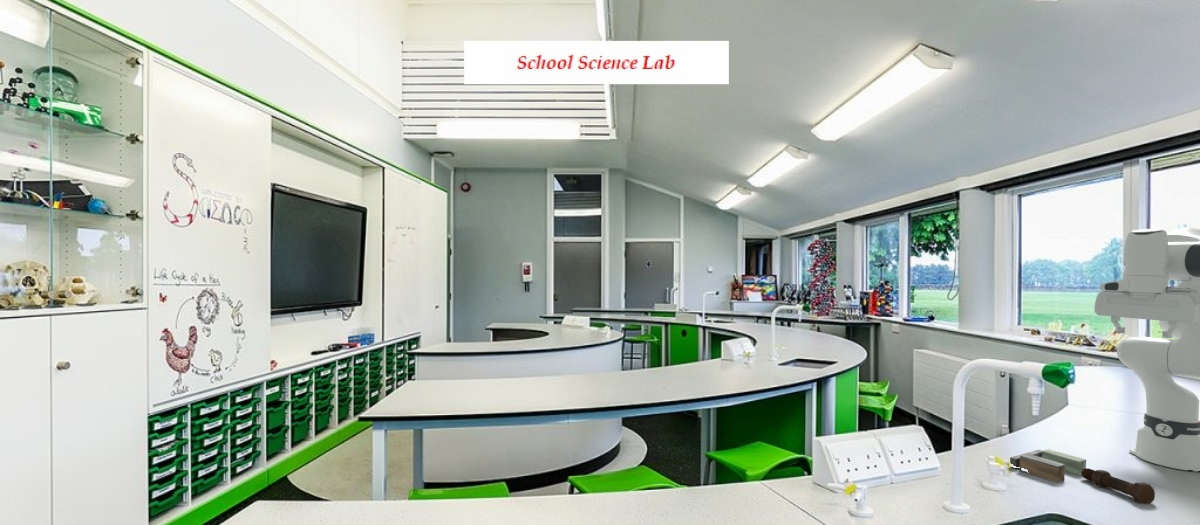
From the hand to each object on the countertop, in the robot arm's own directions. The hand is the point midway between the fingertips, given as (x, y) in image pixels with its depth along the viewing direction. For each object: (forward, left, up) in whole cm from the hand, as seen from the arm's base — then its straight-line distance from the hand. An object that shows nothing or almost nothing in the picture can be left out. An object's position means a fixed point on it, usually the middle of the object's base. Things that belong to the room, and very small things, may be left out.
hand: (1143, 335), depth 143 cm
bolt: (+12, -1, -43) cm, 44 cm away
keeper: (+12, -16, -42) cm, 47 cm away
